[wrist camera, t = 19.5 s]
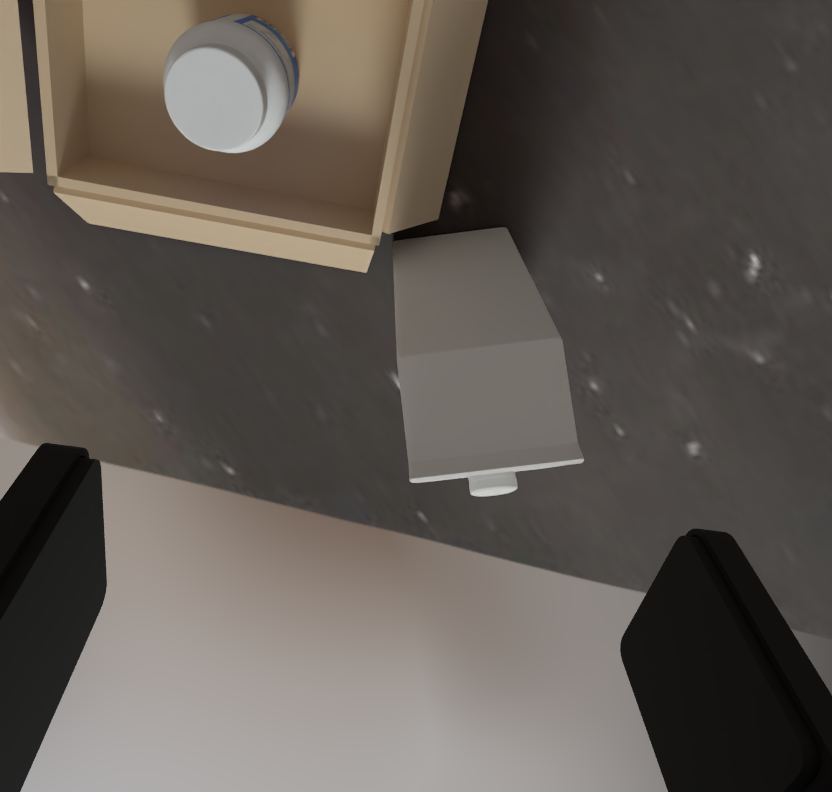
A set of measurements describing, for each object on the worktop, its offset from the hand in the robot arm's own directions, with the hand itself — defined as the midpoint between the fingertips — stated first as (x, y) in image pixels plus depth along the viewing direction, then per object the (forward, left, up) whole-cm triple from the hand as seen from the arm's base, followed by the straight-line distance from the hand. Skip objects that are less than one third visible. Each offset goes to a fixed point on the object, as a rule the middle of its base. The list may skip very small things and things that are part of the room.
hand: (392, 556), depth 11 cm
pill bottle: (+8, -2, -32) cm, 33 cm away
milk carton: (-6, +8, -32) cm, 34 cm away
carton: (+6, -2, -32) cm, 33 cm away
